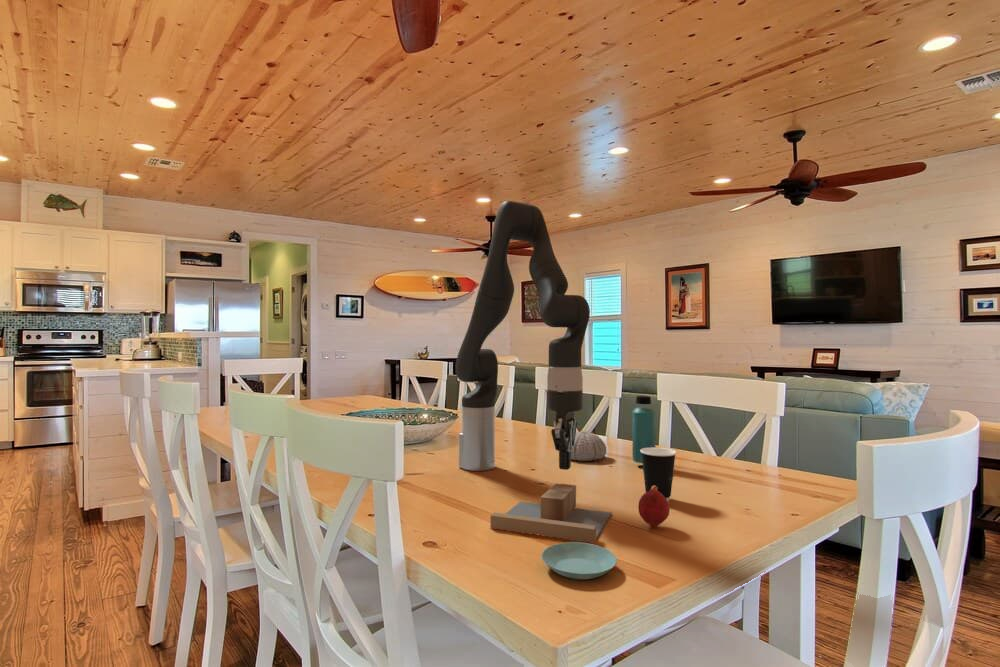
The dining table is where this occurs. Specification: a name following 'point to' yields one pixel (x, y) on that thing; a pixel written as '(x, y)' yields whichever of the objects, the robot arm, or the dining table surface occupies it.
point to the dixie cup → (658, 469)
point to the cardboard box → (558, 502)
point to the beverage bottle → (643, 428)
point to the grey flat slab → (552, 522)
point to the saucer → (579, 560)
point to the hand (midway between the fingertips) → (564, 468)
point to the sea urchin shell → (587, 447)
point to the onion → (653, 507)
